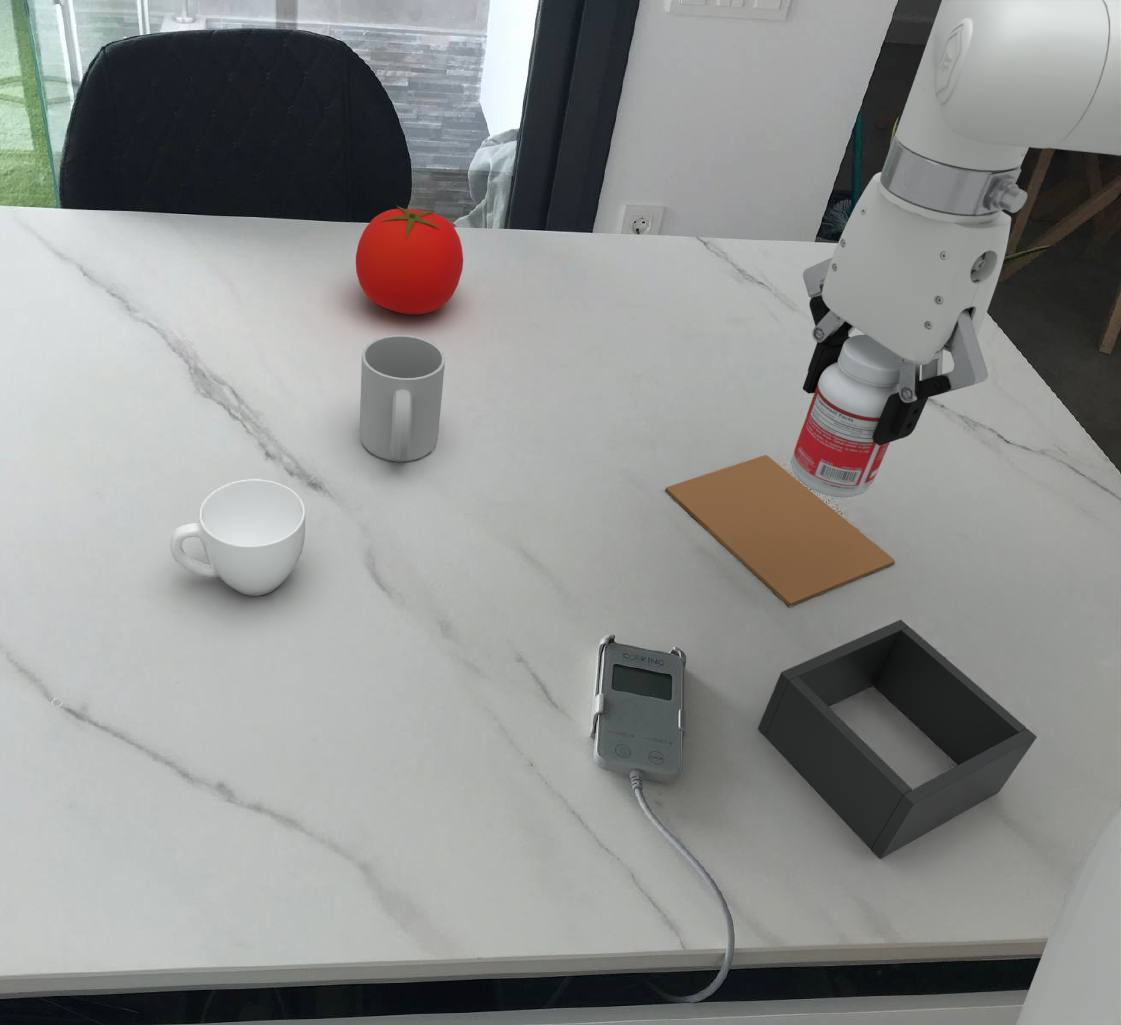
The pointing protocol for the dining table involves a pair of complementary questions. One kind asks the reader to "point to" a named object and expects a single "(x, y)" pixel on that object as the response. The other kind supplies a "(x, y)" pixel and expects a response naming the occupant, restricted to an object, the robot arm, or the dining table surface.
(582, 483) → the dining table surface
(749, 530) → the cork mat
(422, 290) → the tomato
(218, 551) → the cup
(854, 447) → the pill bottle
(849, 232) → the robot arm
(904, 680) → the bin
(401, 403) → the cup
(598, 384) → the dining table surface
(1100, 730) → the dining table surface
